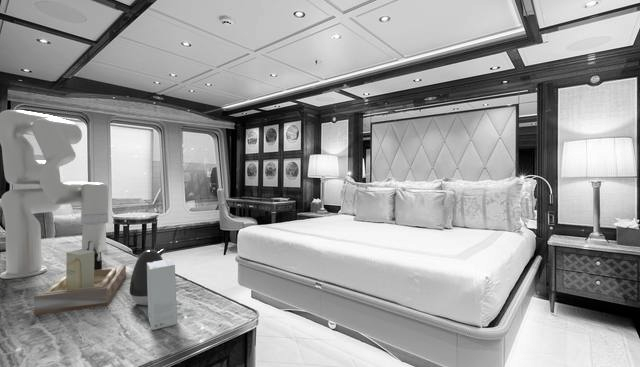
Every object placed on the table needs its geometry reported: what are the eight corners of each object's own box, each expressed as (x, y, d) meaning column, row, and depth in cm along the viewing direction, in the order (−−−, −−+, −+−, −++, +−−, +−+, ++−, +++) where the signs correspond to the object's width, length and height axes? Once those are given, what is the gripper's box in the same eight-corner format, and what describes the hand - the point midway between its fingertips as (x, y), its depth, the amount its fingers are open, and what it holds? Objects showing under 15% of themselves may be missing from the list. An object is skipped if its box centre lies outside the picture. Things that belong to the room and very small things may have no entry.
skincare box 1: (65, 293, 91) (64, 252, 91) (81, 288, 96) (81, 249, 95) (79, 296, 89) (78, 254, 89) (95, 291, 93) (95, 250, 93)
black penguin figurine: (178, 297, 94) (177, 247, 94) (148, 311, 84) (148, 255, 84) (152, 293, 98) (151, 244, 97) (121, 306, 88) (120, 252, 87)
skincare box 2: (177, 325, 77) (177, 265, 76) (149, 331, 74) (149, 269, 73) (172, 312, 84) (171, 257, 83) (146, 318, 80) (146, 260, 80)
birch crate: (69, 284, 102) (69, 272, 102) (116, 279, 107) (116, 267, 107) (43, 308, 84) (43, 293, 83) (101, 301, 89) (101, 287, 89)
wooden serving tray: (72, 281, 108) (71, 266, 108) (125, 275, 115) (125, 261, 115) (34, 315, 82) (34, 296, 82) (106, 305, 88) (106, 288, 88)
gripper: (88, 216, 112) (89, 267, 113) (73, 222, 98) (74, 280, 99) (113, 215, 115) (113, 265, 115) (102, 221, 101) (102, 277, 102)
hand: (95, 272), depth 107 cm, fingers closed
